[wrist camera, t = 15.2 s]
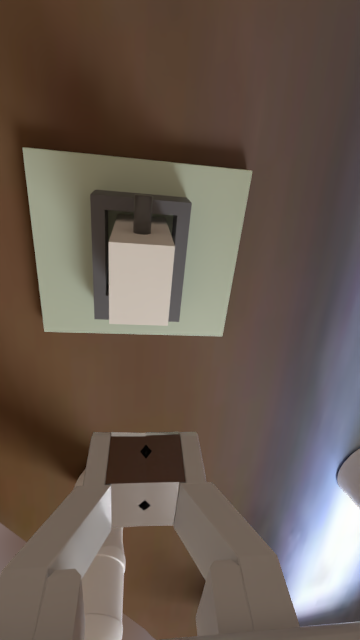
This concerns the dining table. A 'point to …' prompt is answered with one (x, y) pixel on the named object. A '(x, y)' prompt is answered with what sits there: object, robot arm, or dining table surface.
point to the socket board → (97, 224)
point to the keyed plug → (140, 267)
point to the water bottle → (104, 588)
